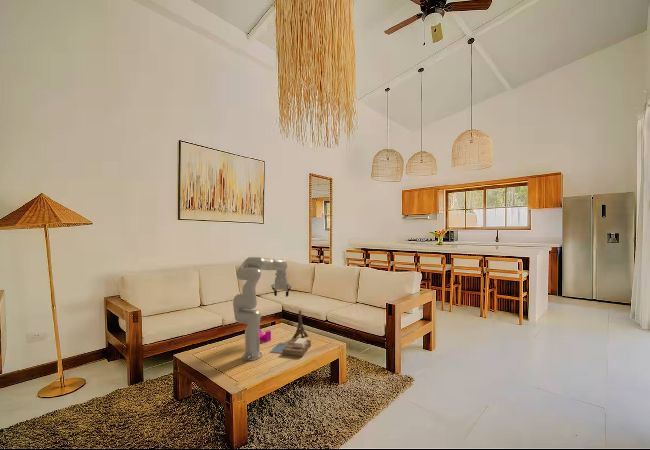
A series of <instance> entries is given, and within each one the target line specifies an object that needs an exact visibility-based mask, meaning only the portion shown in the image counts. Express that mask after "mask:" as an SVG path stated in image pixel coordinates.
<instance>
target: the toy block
mask: <svg viewBox="0 0 650 450" xmlns="http://www.w3.org/2000/svg"><path fill="white" fill-rule="evenodd" d="M263 340H264V341H263ZM271 340H272V331H271V330H267V331H265V332H264V333H263V332H262V330H261V327H260V326H259V341H260V342H266V343H267V342H270V341H271Z"/></svg>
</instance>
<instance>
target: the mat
mask: <svg viewBox="0 0 650 450" xmlns="http://www.w3.org/2000/svg"><path fill="white" fill-rule="evenodd" d="M287 344H288V343H284V342H278V343H277V344H276V345H275V346H274V347H273V348H272V349H271V350H270V351H269V353H273V354H282V355H283V348H284V347H285V346H286V345H287Z"/></svg>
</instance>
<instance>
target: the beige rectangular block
mask: <svg viewBox="0 0 650 450" xmlns="http://www.w3.org/2000/svg"><path fill="white" fill-rule="evenodd" d="M296 339H297V340H296V341H295V343H294V347H299V348H303V347H304V346H305V344H306V343H307V340H308V338H306V337H304V338H301V337H298V338H296Z"/></svg>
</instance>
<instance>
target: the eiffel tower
mask: <svg viewBox="0 0 650 450" xmlns="http://www.w3.org/2000/svg"><path fill="white" fill-rule="evenodd" d="M295 331H296V332H295V333H294V334H293V336H292V338H291V340H292V339H293V338H295V339H297V336H300V338H306V337H307V338H308V337H309V334H308V333H307V332H306V331H305V329H304V324H303V318H302V310H298V323H297V328H296V330H295Z"/></svg>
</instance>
